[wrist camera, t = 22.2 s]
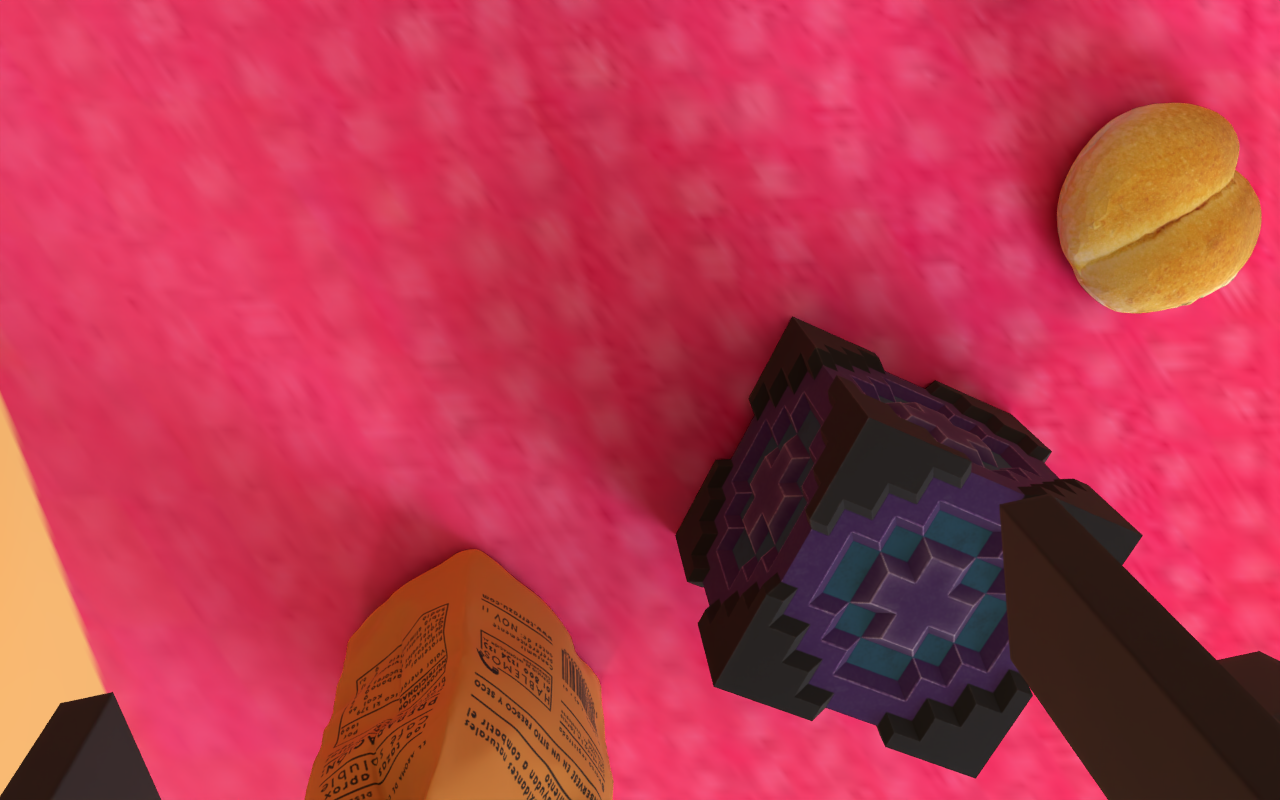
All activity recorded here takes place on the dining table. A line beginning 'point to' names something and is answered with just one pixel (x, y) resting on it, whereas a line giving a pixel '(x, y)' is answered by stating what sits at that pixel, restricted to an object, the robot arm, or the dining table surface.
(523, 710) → the coffee package
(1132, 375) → the dining table surface
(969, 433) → the energy cube
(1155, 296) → the bread roll
